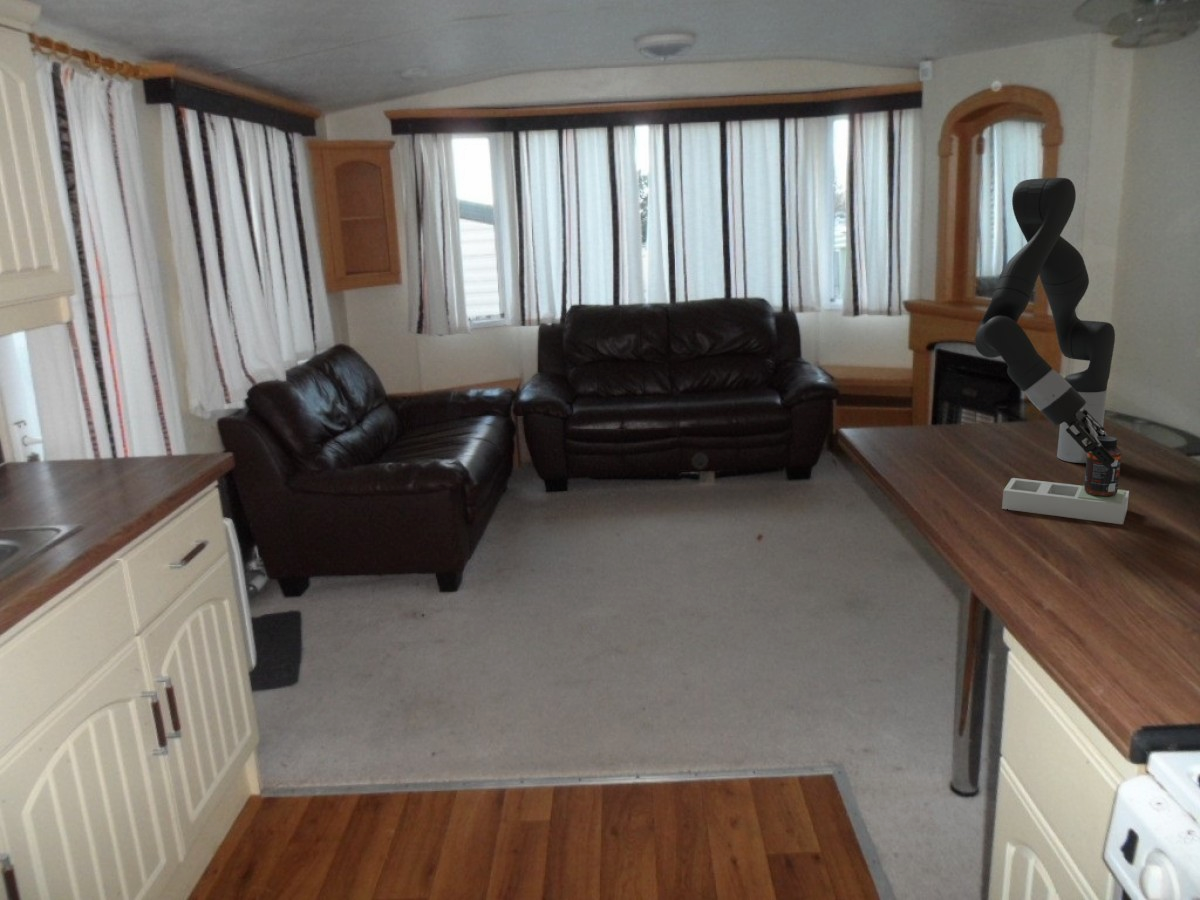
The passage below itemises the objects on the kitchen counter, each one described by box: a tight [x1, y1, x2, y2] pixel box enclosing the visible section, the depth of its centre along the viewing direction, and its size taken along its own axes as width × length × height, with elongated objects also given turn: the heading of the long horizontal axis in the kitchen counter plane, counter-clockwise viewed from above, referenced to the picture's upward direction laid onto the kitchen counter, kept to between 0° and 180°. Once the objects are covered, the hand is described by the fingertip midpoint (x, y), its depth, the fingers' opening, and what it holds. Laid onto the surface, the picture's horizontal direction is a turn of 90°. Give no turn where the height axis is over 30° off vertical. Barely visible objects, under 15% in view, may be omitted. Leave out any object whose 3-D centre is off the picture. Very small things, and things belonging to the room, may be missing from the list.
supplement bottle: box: [1083, 435, 1122, 496], centre depth 187 cm, size 6×6×11 cm
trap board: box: [1001, 477, 1130, 525], centre depth 192 cm, size 10×22×4 cm, turn 58°
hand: (1113, 458), depth 186 cm, fingers open, 8 cm apart
